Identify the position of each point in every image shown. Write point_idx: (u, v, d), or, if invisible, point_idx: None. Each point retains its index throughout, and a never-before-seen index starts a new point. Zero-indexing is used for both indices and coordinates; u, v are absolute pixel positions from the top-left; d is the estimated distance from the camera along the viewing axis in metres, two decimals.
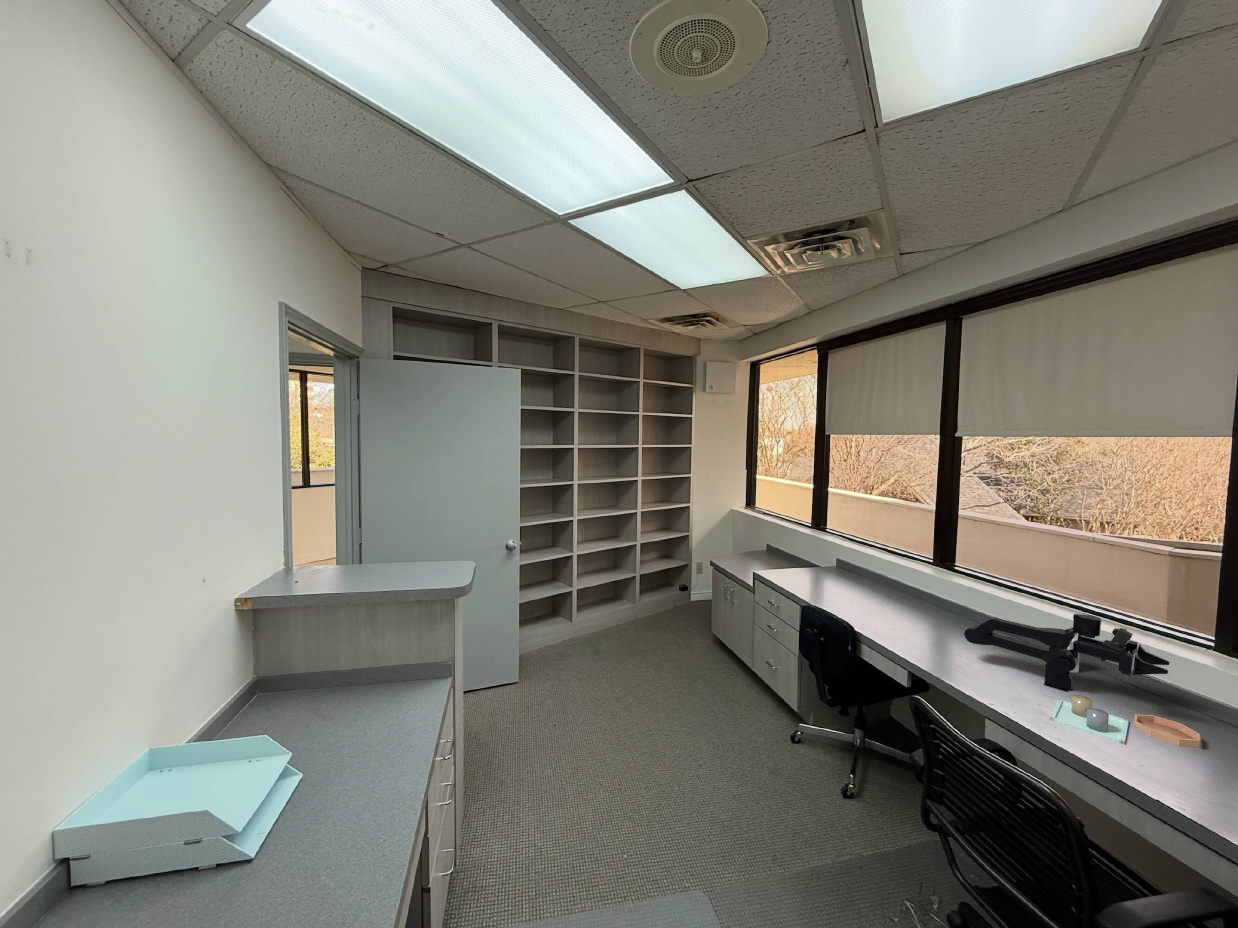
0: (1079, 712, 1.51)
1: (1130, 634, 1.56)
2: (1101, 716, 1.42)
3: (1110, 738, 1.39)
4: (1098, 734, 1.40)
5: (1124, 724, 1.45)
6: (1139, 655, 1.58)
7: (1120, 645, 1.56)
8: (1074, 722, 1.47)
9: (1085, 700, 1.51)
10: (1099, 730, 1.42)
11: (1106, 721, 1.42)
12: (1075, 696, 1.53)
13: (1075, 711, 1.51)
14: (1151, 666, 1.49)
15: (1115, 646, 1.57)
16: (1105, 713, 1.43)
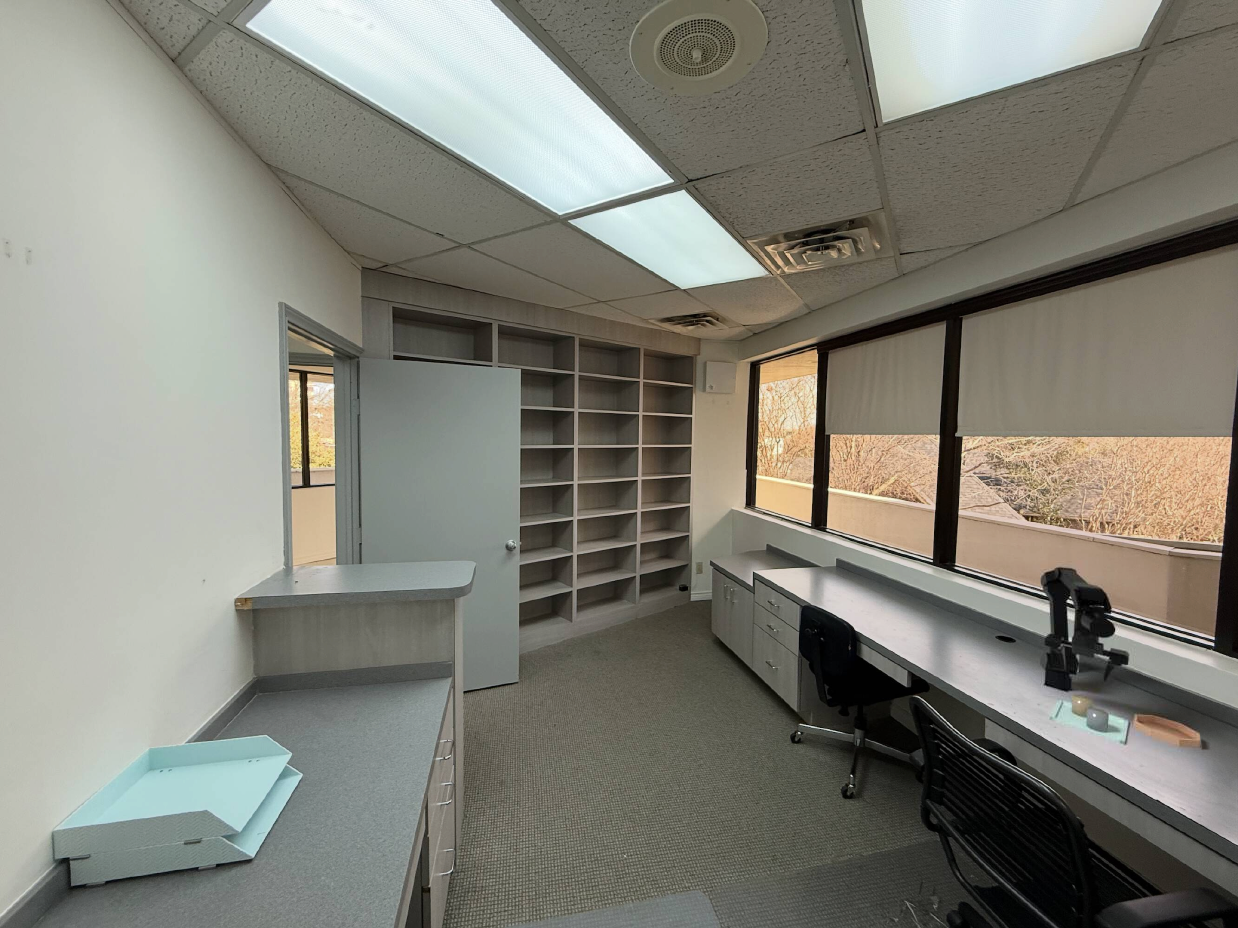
0: (1079, 712, 1.51)
1: (1080, 654, 1.46)
2: (1101, 716, 1.42)
3: (1110, 738, 1.39)
4: (1098, 734, 1.40)
5: (1124, 724, 1.45)
6: None
7: None
8: (1074, 722, 1.47)
9: (1085, 700, 1.51)
10: (1099, 730, 1.42)
11: (1106, 721, 1.42)
12: (1075, 696, 1.53)
13: (1075, 711, 1.51)
14: None
15: (1072, 638, 1.51)
16: (1105, 713, 1.43)
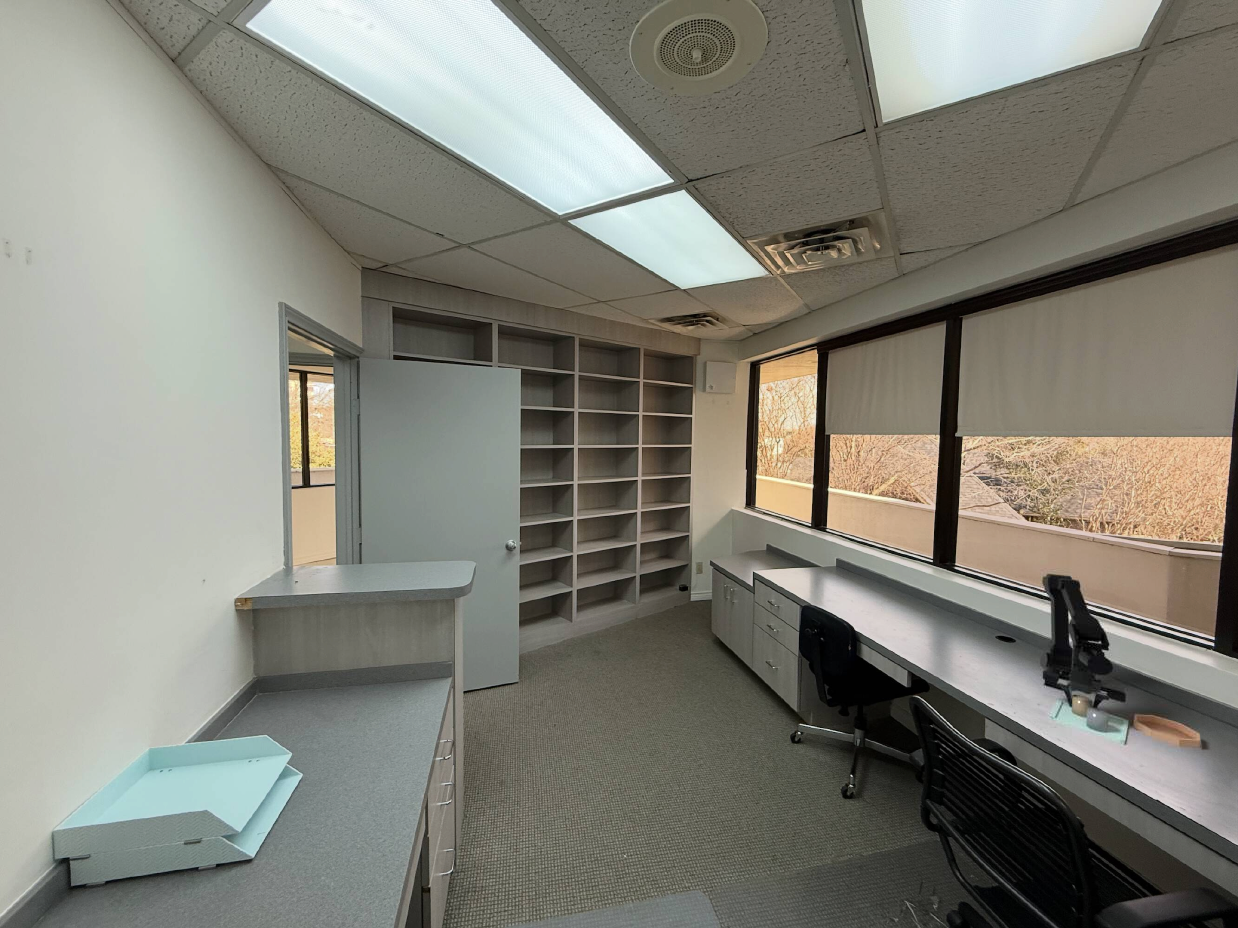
0: (1079, 712, 1.51)
1: (1078, 690, 1.47)
2: (1101, 716, 1.42)
3: (1110, 738, 1.39)
4: (1098, 734, 1.40)
5: (1124, 724, 1.45)
6: None
7: None
8: (1074, 722, 1.47)
9: (1085, 700, 1.51)
10: (1099, 730, 1.42)
11: (1106, 721, 1.42)
12: (1075, 696, 1.53)
13: (1075, 711, 1.51)
14: None
15: (1070, 673, 1.51)
16: (1105, 713, 1.43)
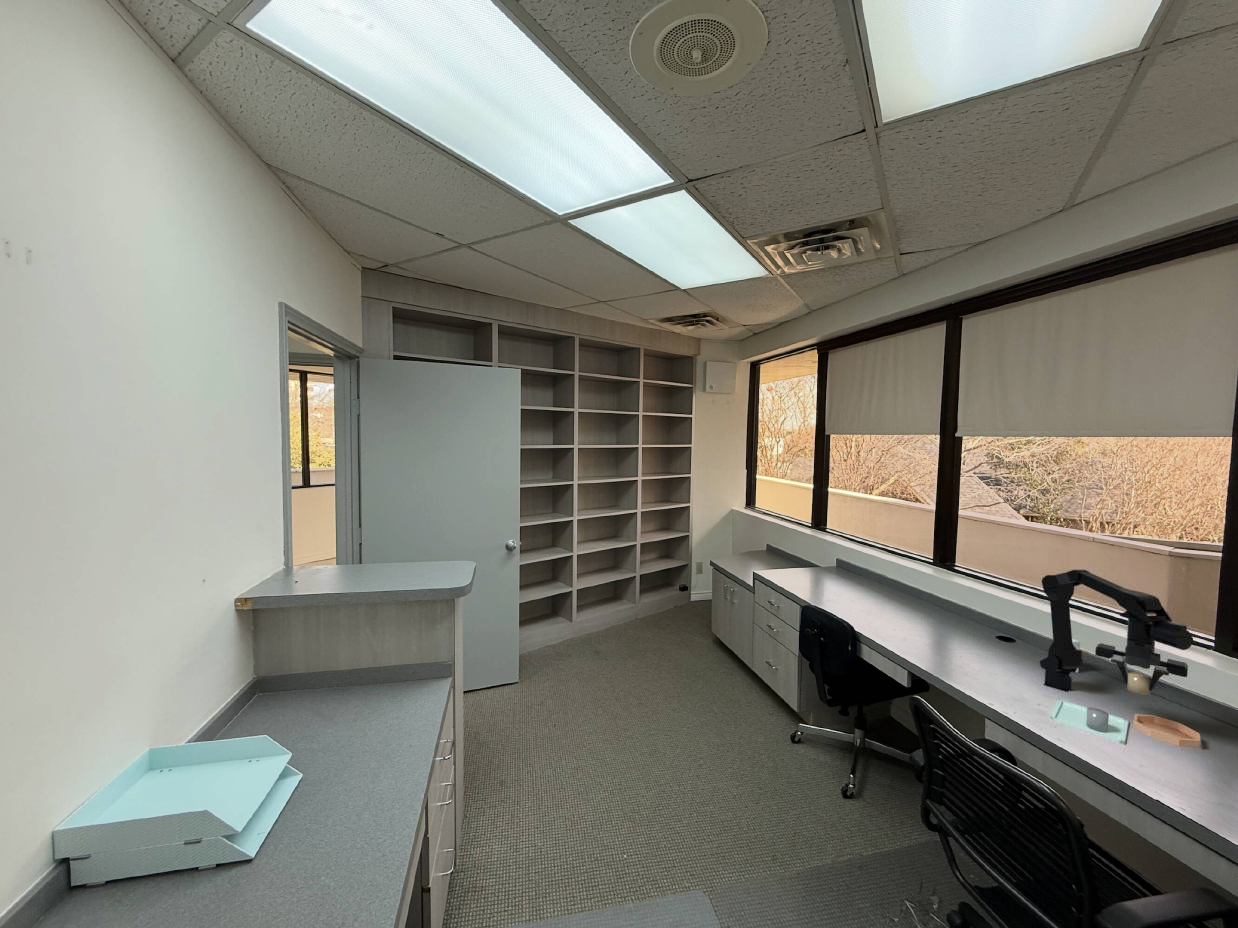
0: (1136, 689, 1.45)
1: (1135, 664, 1.41)
2: (1101, 716, 1.42)
3: (1110, 738, 1.39)
4: (1098, 734, 1.40)
5: (1124, 724, 1.45)
6: None
7: None
8: (1074, 722, 1.47)
9: (1142, 676, 1.45)
10: (1099, 730, 1.42)
11: (1106, 721, 1.42)
12: (1131, 673, 1.47)
13: (1132, 687, 1.46)
14: None
15: (1126, 648, 1.46)
16: (1105, 713, 1.43)
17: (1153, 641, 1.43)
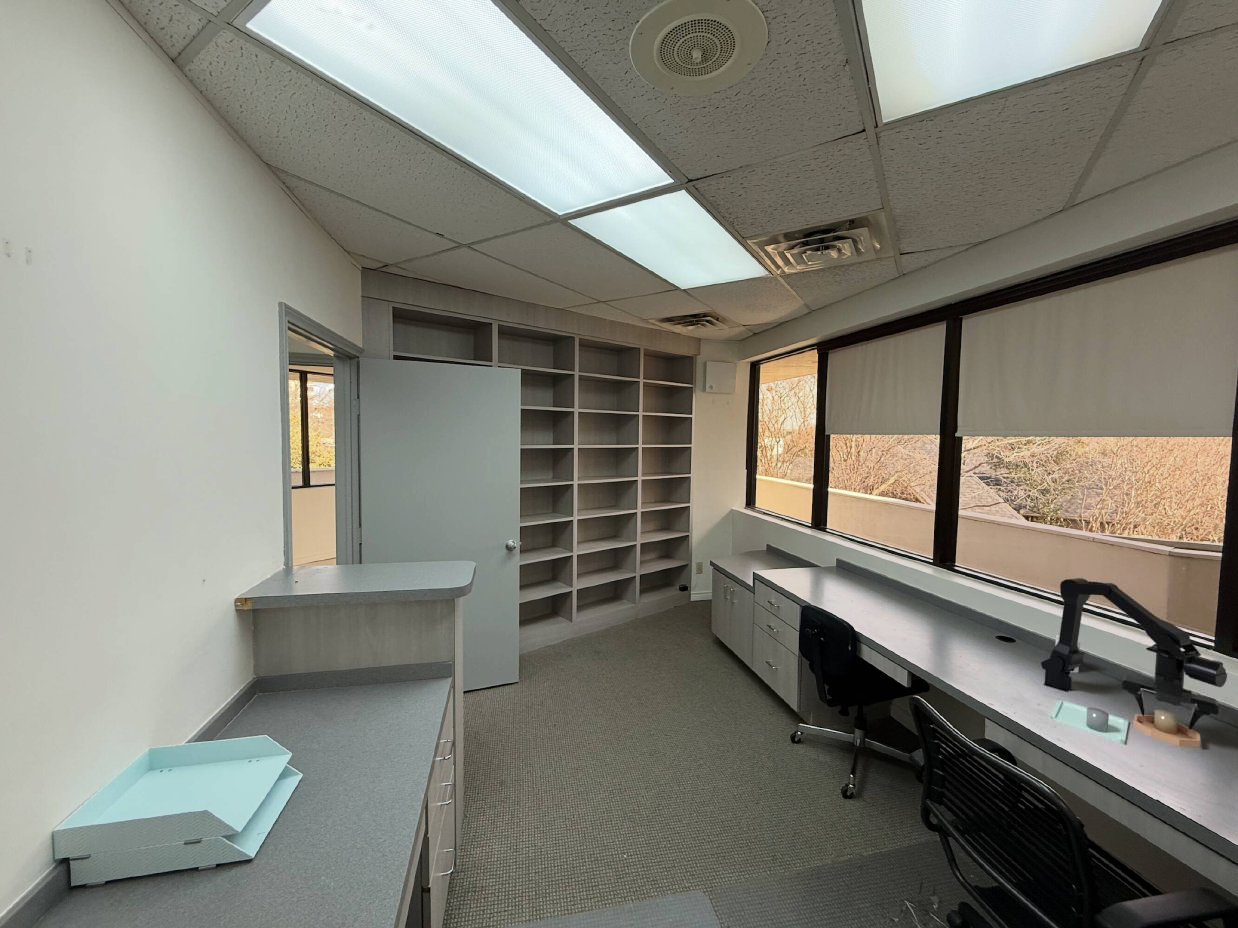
0: (1163, 728, 1.43)
1: (1165, 701, 1.39)
2: (1101, 716, 1.42)
3: (1110, 738, 1.39)
4: (1098, 734, 1.40)
5: (1124, 724, 1.45)
6: (1193, 707, 1.40)
7: None
8: (1074, 722, 1.47)
9: (1170, 715, 1.43)
10: (1099, 730, 1.42)
11: (1106, 721, 1.42)
12: (1158, 711, 1.45)
13: (1159, 726, 1.43)
14: (1138, 703, 1.48)
15: (1154, 683, 1.43)
16: (1105, 713, 1.43)
17: (1182, 676, 1.41)
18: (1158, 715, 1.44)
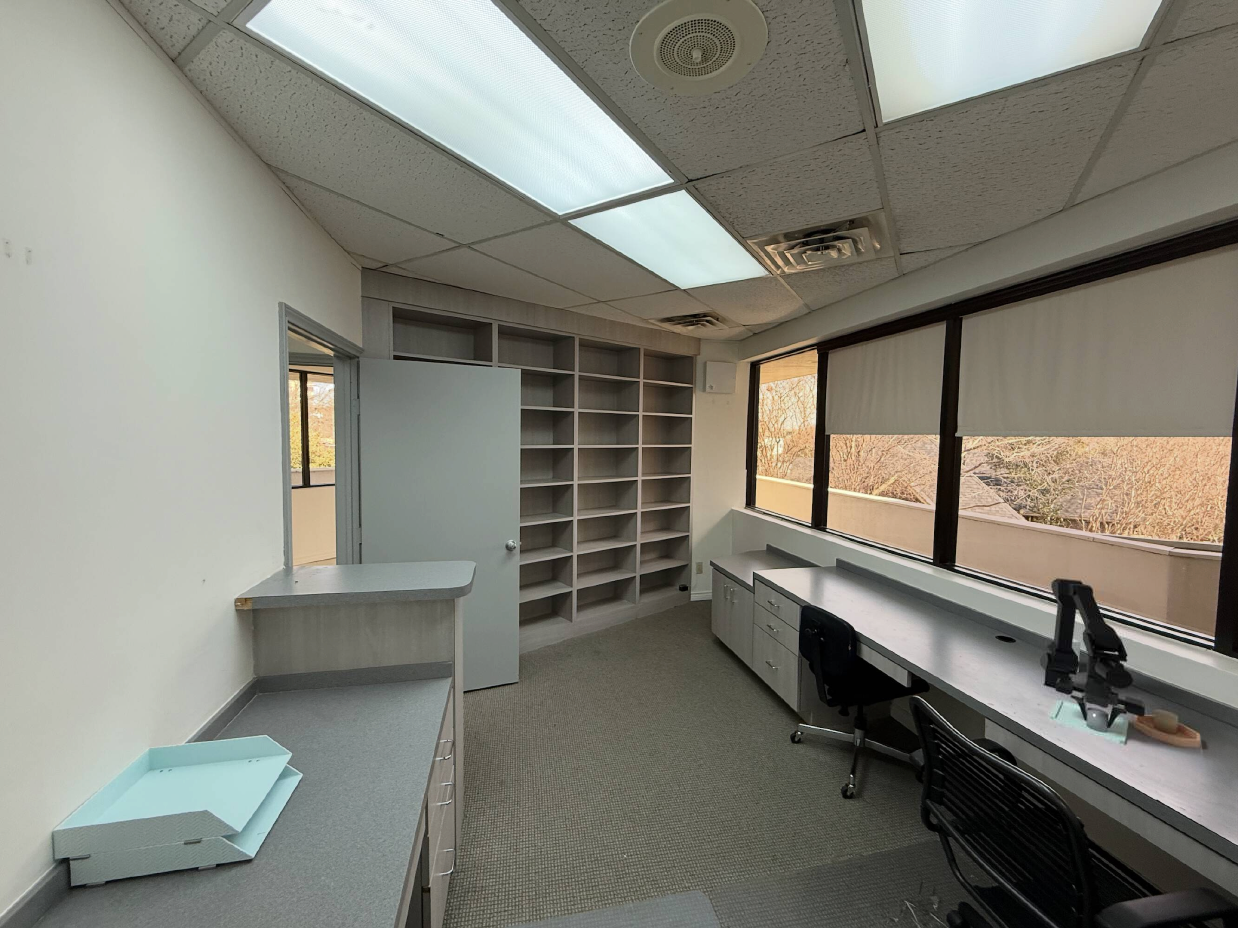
0: (1163, 728, 1.43)
1: (1094, 703, 1.39)
2: (1101, 716, 1.42)
3: (1110, 738, 1.39)
4: (1098, 734, 1.40)
5: (1124, 724, 1.45)
6: None
7: None
8: (1074, 722, 1.47)
9: (1170, 715, 1.43)
10: (1099, 730, 1.42)
11: (1106, 721, 1.42)
12: (1158, 711, 1.45)
13: (1159, 726, 1.43)
14: (1080, 708, 1.46)
15: (1085, 685, 1.44)
16: (1105, 713, 1.43)
17: None
18: (1158, 715, 1.44)
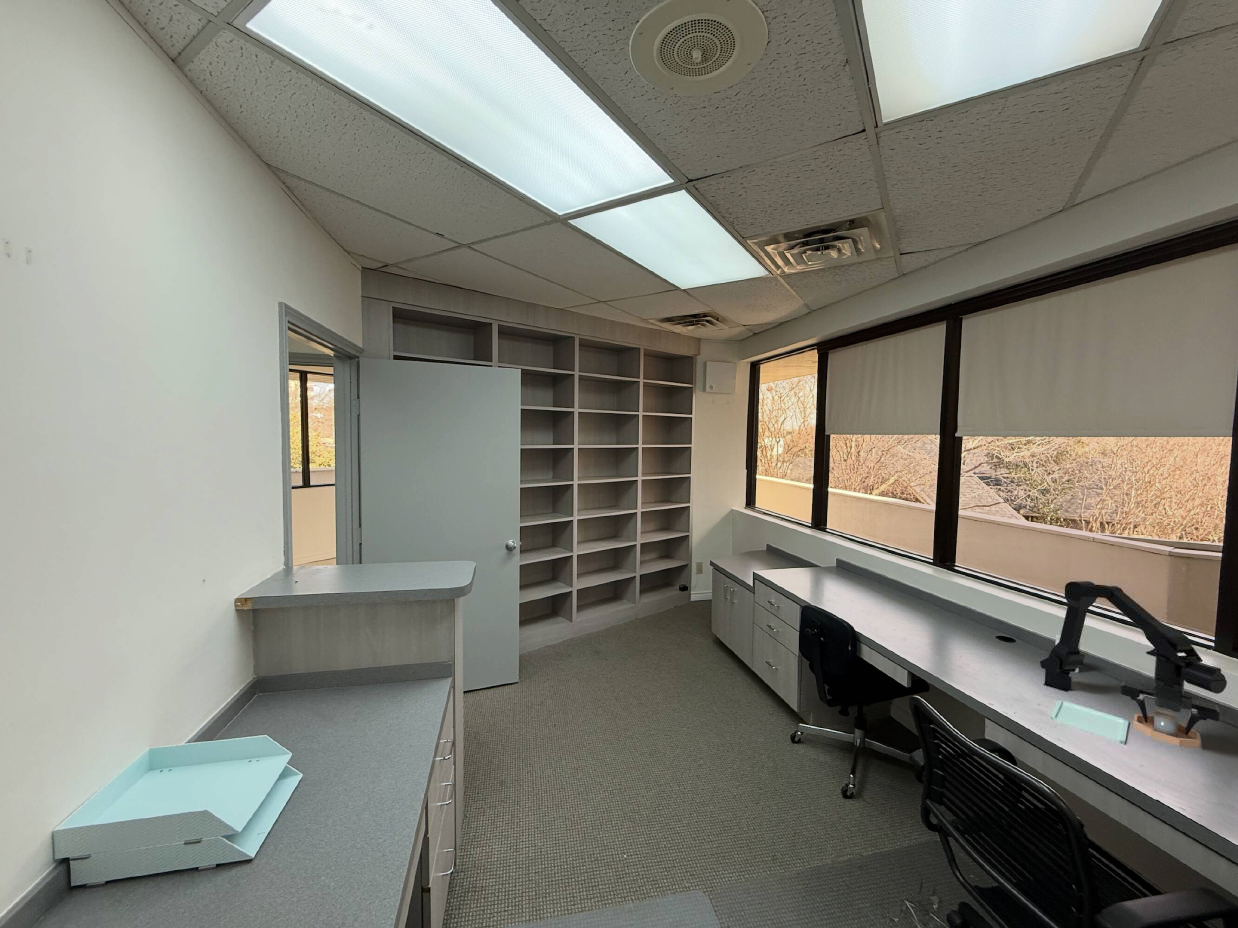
0: None
1: (1165, 707, 1.36)
2: (1170, 724, 1.38)
3: (1110, 738, 1.39)
4: (1098, 734, 1.40)
5: (1124, 724, 1.45)
6: (1190, 712, 1.37)
7: None
8: (1074, 722, 1.47)
9: (1170, 715, 1.43)
10: None
11: (1175, 730, 1.38)
12: (1158, 711, 1.45)
13: None
14: (1141, 710, 1.44)
15: (1153, 689, 1.40)
16: (1174, 721, 1.40)
17: (1183, 682, 1.37)
18: None
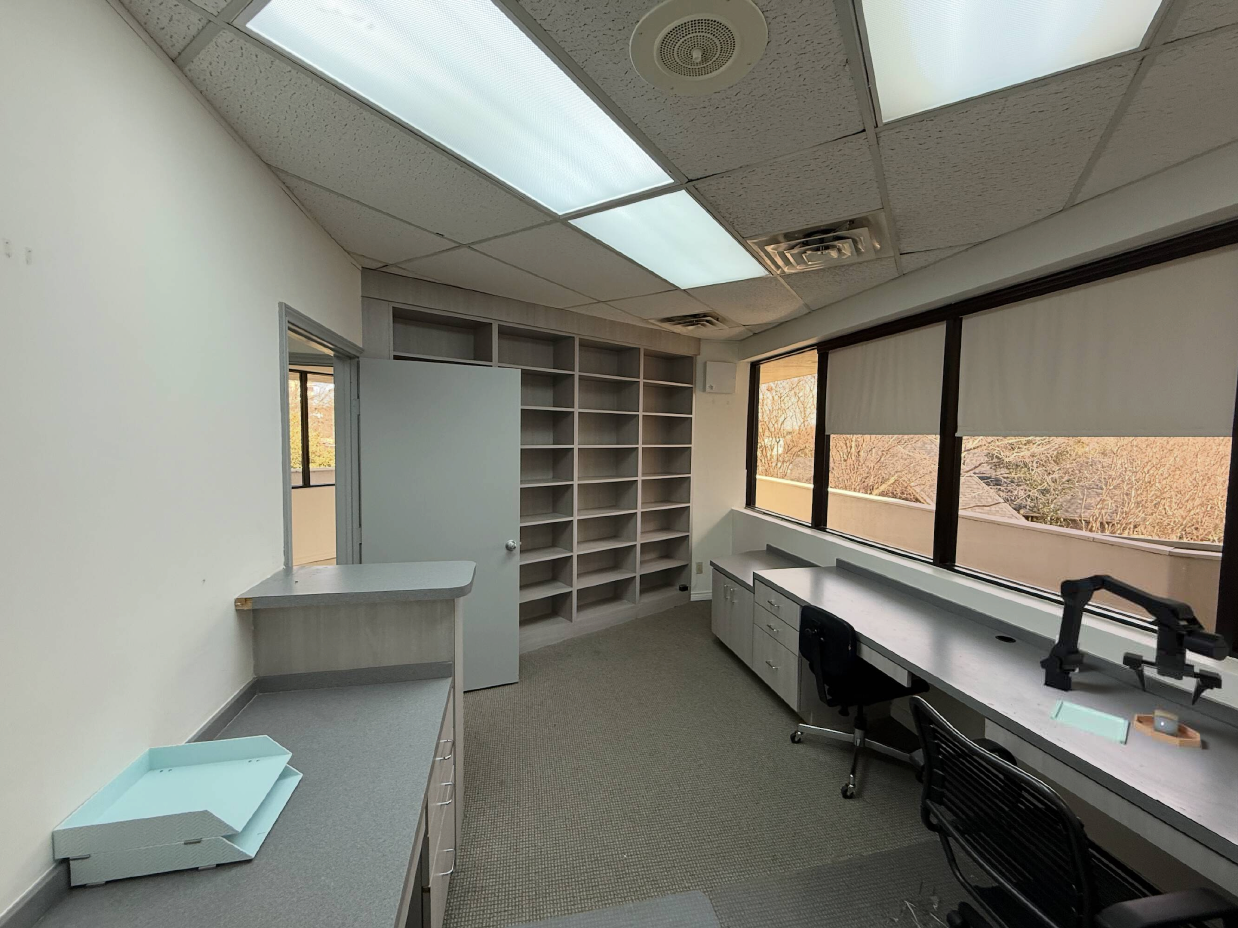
0: None
1: (1167, 676, 1.35)
2: (1170, 724, 1.38)
3: (1110, 738, 1.39)
4: (1098, 734, 1.40)
5: (1124, 724, 1.45)
6: (1196, 682, 1.36)
7: None
8: (1074, 722, 1.47)
9: (1170, 715, 1.43)
10: None
11: (1175, 730, 1.38)
12: (1158, 711, 1.45)
13: None
14: None
15: (1156, 658, 1.40)
16: (1173, 721, 1.40)
17: (1185, 651, 1.37)
18: None
